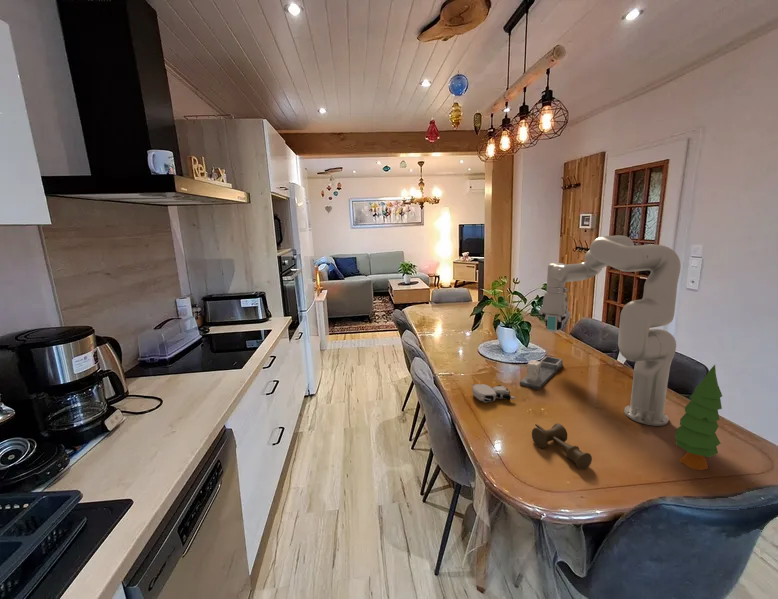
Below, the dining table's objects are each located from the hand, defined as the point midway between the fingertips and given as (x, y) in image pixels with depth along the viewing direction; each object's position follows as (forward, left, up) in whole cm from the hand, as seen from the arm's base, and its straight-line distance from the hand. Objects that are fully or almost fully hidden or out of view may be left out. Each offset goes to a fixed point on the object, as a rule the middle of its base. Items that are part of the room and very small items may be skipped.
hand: (553, 328), depth 164 cm
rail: (-11, 0, -19) cm, 22 cm away
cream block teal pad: (0, 0, -1) cm, 1 cm away
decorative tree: (-46, -53, -20) cm, 73 cm away
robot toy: (-45, +8, -20) cm, 50 cm away
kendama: (-63, -23, -20) cm, 70 cm away
